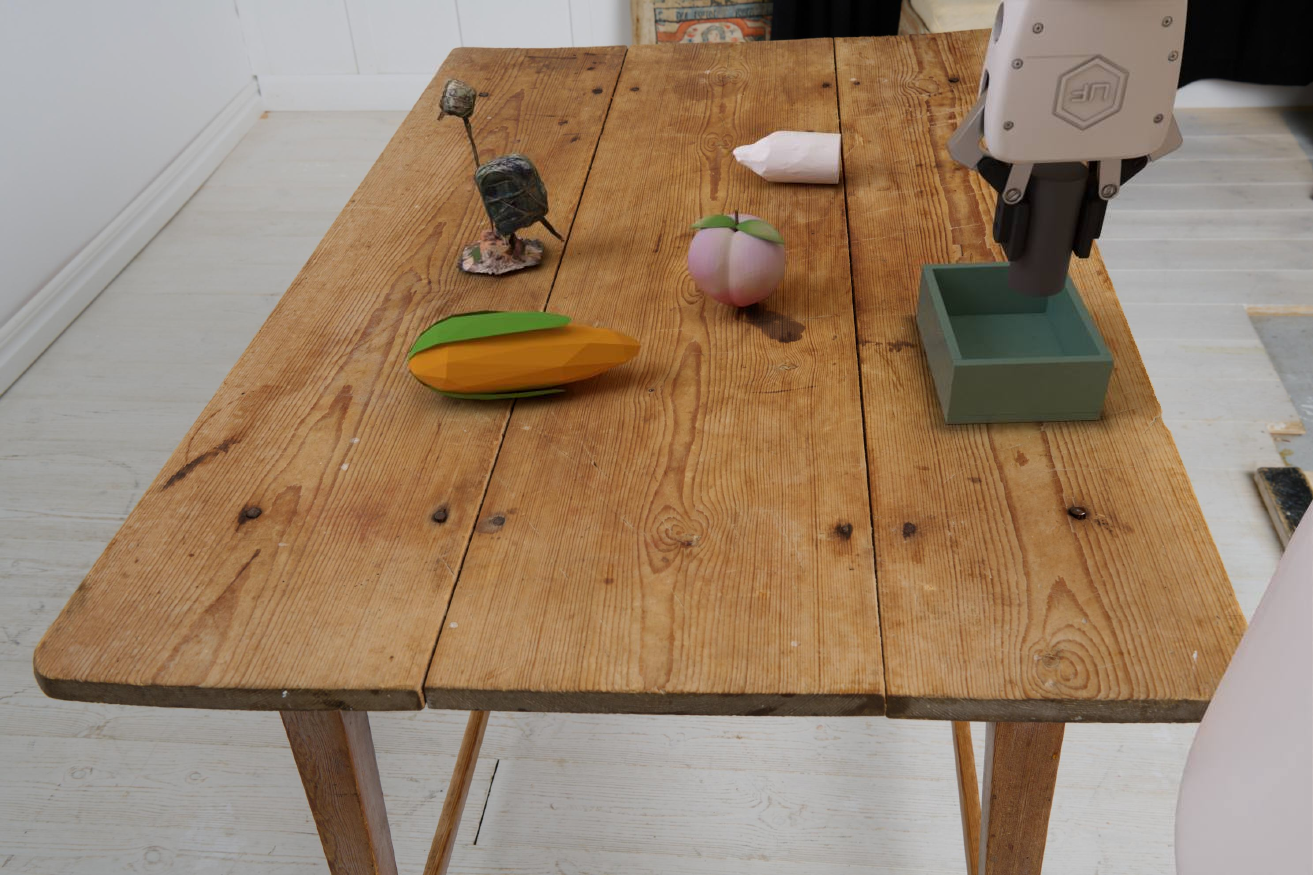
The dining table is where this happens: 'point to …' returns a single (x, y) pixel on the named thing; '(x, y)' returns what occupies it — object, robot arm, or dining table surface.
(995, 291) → the bin
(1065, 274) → the dark grey cylinder
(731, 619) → the dining table surface
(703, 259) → the decorative fruit
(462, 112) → the long necked figurine
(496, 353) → the corn
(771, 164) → the white pointed cylinder
